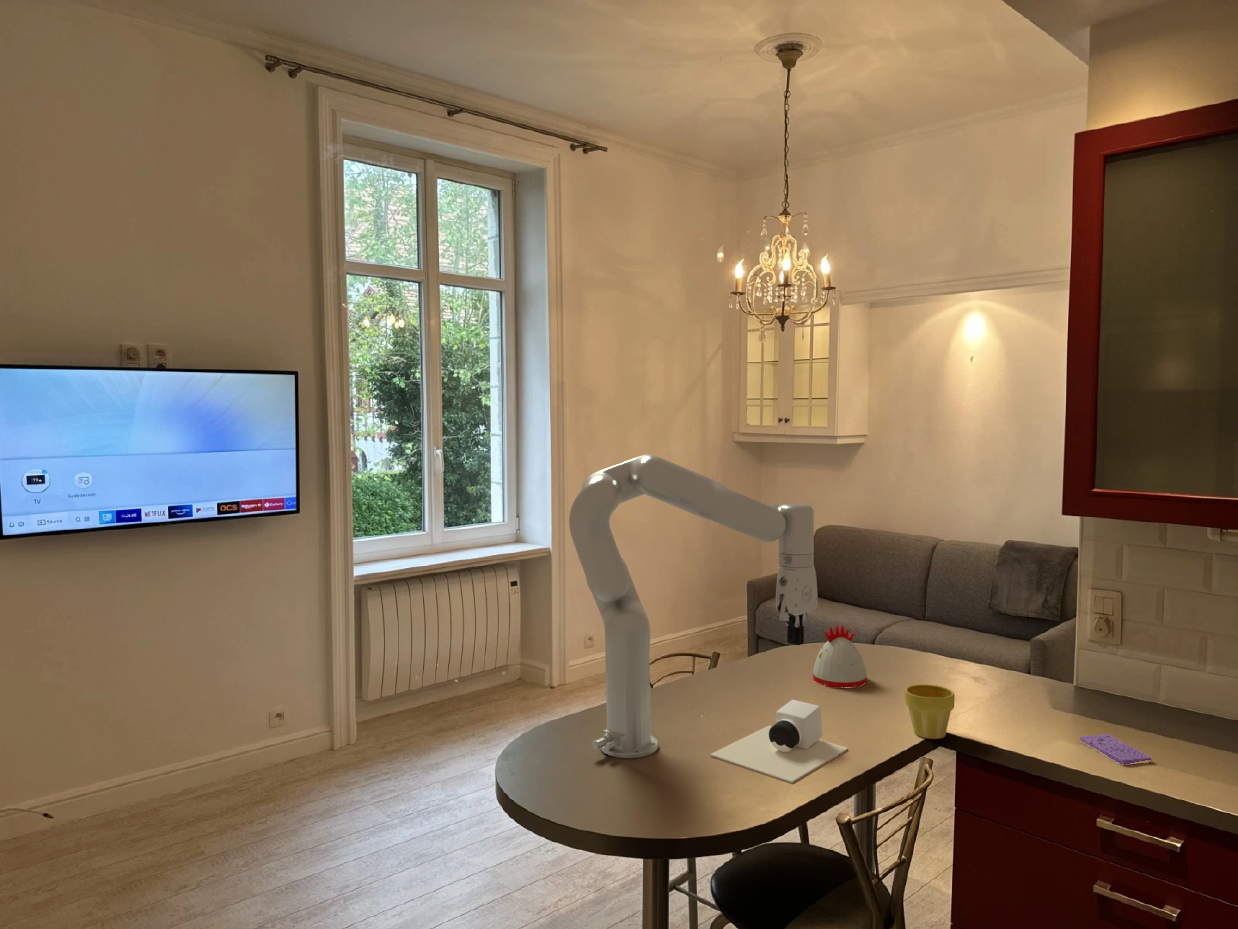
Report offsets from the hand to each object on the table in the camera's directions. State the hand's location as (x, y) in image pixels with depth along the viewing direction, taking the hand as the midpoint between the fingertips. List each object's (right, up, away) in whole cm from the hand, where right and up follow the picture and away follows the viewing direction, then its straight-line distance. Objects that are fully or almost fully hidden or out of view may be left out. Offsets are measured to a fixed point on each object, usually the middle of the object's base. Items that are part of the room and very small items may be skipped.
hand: (795, 643), depth 185 cm
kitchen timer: (+21, -19, +42) cm, 51 cm away
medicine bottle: (+3, -17, +2) cm, 17 cm away
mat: (-5, -22, -6) cm, 23 cm away
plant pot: (+31, -21, +4) cm, 37 cm away
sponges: (+65, -22, -8) cm, 69 cm away
